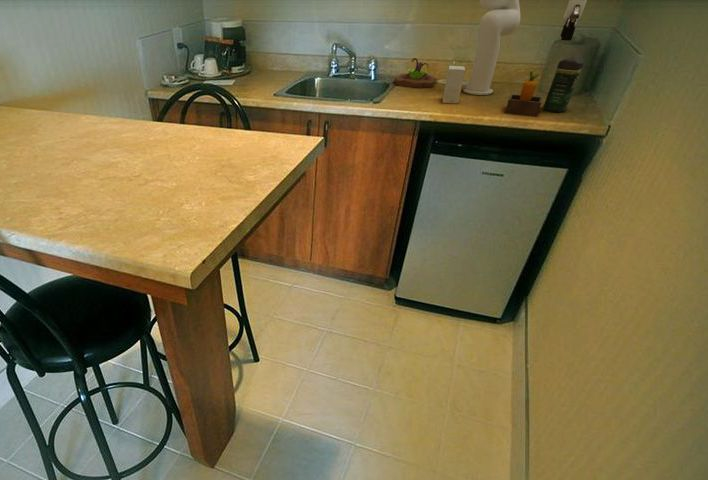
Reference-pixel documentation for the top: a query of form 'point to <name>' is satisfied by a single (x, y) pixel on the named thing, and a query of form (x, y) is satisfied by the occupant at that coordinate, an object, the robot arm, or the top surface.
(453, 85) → the small box
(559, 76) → the coffee jar
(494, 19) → the robot arm
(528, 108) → the pen box
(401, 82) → the plant
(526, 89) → the carrot
